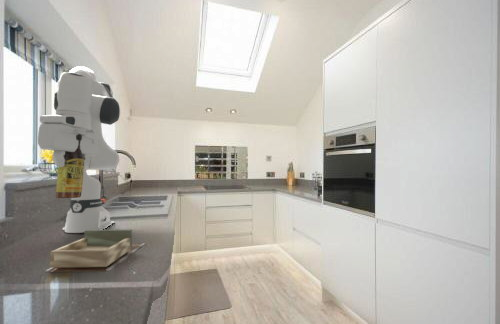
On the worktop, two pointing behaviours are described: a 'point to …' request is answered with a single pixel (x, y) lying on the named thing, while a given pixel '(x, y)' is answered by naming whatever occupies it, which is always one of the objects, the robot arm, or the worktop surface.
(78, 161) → the sauce bottle
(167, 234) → the worktop surface
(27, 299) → the worktop surface
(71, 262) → the shallow wooden tray
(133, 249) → the flat board
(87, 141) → the robot arm
